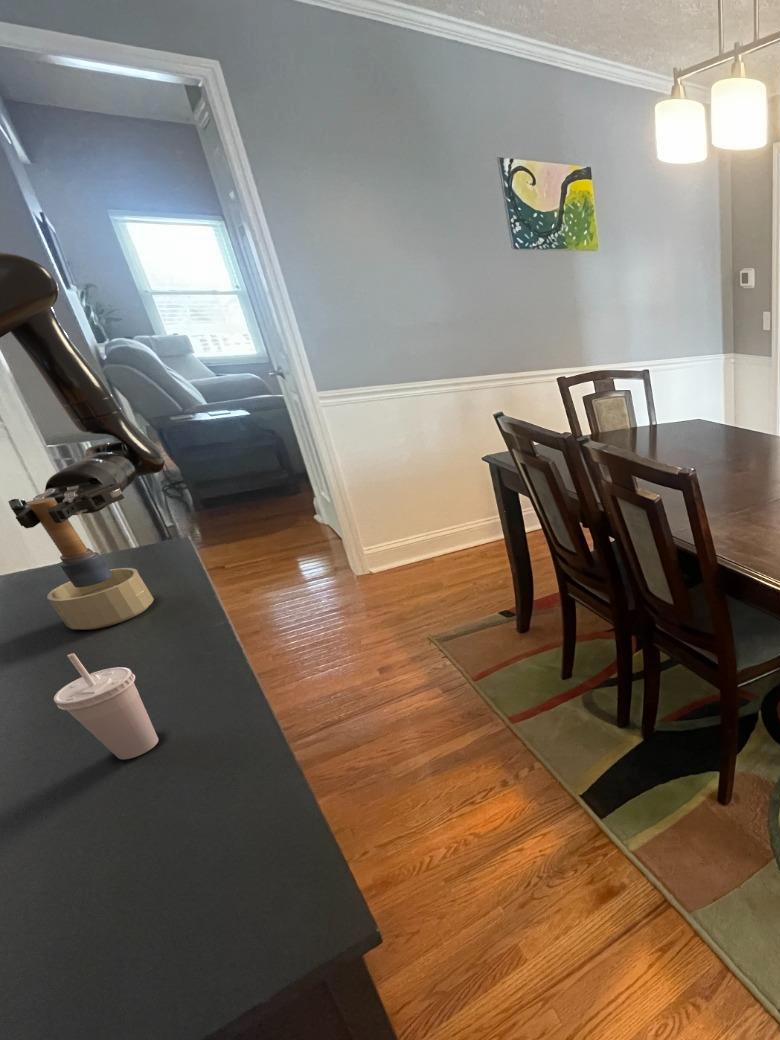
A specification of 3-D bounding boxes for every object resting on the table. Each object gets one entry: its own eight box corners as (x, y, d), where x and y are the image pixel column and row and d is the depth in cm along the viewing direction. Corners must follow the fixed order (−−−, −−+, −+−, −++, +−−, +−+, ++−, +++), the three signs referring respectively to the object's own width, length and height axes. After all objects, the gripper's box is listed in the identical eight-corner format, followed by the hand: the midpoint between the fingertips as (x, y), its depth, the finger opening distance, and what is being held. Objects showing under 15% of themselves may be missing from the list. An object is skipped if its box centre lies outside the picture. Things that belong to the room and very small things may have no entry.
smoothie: (103, 777, 67) (27, 679, 61) (99, 750, 71) (28, 655, 64) (176, 745, 71) (113, 650, 65) (169, 721, 75) (108, 629, 69)
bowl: (50, 636, 94) (27, 604, 91) (100, 602, 103) (81, 572, 101) (127, 626, 96) (107, 594, 93) (169, 594, 105) (152, 564, 102)
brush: (66, 589, 94) (10, 508, 88) (87, 575, 98) (35, 497, 92) (99, 585, 95) (46, 504, 89) (119, 571, 99) (70, 493, 93)
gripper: (20, 472, 98) (-43, 506, 84) (129, 456, 103) (86, 486, 90) (48, 513, 102) (-9, 553, 88) (152, 496, 107) (114, 531, 93)
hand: (40, 519), depth 89 cm, fingers closed on brush, 3 cm apart
